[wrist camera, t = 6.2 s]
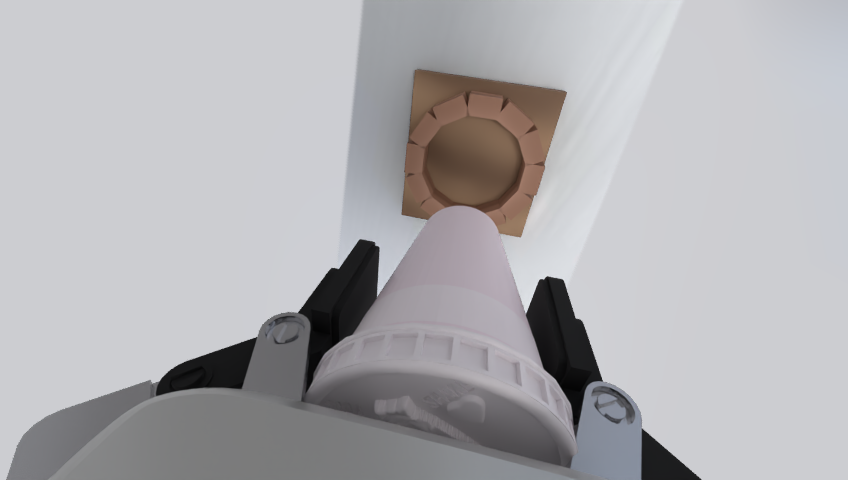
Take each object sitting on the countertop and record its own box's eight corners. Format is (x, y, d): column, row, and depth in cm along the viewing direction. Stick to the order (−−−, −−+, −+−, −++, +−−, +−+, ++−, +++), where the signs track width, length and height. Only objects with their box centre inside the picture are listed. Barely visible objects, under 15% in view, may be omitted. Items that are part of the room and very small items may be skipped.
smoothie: (426, 305, 18) (308, 814, 6) (371, 204, 15) (-29, 747, 3) (546, 276, 16) (729, 983, 4) (505, 153, 13) (678, 1157, 1)
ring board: (418, 69, 25) (409, 71, 22) (563, 90, 24) (572, 95, 21) (404, 209, 31) (396, 224, 29) (519, 231, 30) (522, 248, 28)
